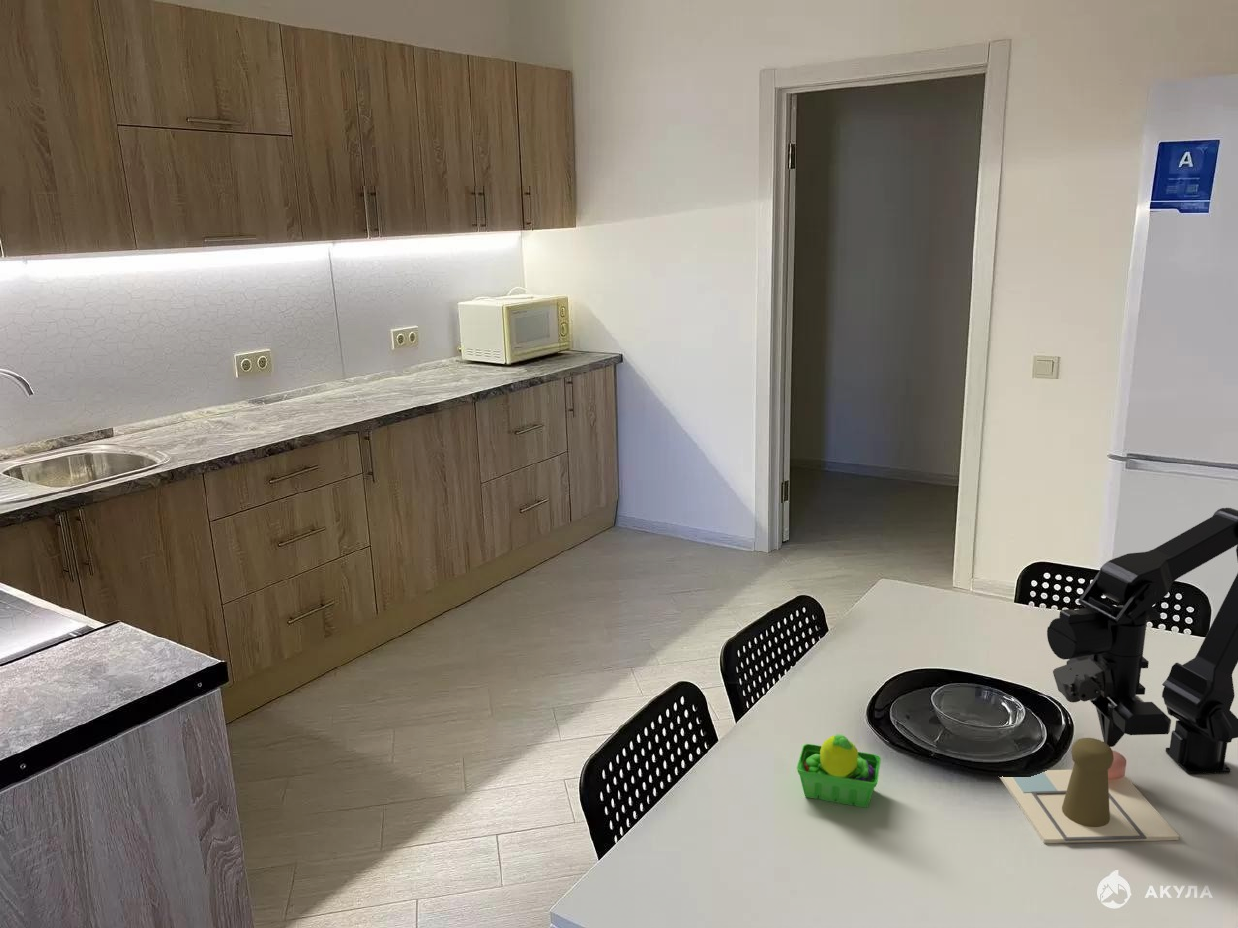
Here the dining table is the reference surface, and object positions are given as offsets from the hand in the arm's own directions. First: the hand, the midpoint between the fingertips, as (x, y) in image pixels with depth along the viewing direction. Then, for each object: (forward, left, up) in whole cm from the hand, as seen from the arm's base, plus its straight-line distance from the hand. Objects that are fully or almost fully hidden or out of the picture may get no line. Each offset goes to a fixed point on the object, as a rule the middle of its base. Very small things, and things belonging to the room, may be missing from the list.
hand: (1109, 745), depth 140 cm
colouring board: (+6, +6, -6) cm, 10 cm away
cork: (+7, +9, -5) cm, 12 cm away
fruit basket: (+40, +2, -6) cm, 41 cm away
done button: (0, 0, -4) cm, 4 cm away
